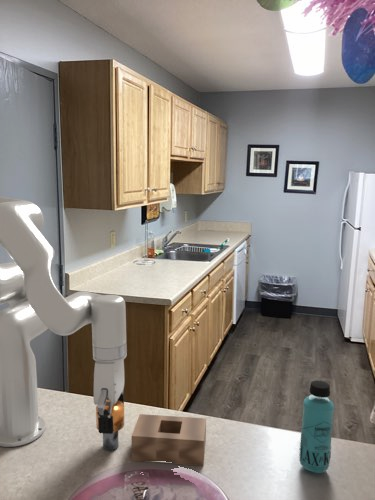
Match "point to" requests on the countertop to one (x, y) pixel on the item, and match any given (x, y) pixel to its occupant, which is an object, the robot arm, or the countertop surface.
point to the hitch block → (169, 439)
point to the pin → (118, 423)
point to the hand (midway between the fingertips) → (112, 420)
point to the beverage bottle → (316, 428)
